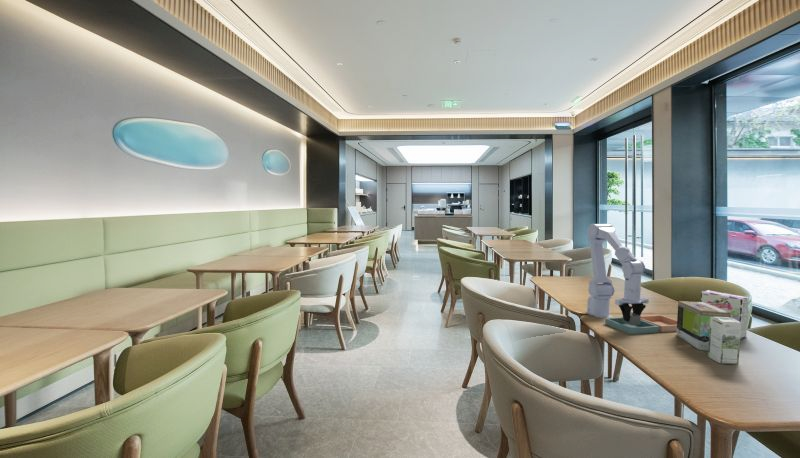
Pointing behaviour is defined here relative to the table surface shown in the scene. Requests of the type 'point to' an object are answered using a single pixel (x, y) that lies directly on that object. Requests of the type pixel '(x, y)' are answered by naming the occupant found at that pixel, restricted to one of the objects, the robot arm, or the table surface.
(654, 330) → the slate bin
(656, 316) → the terracotta bin
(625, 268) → the robot arm
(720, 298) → the candy box
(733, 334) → the syrup box
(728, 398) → the table surface
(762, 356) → the table surface
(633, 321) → the stone block
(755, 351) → the table surface
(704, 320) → the tea box
